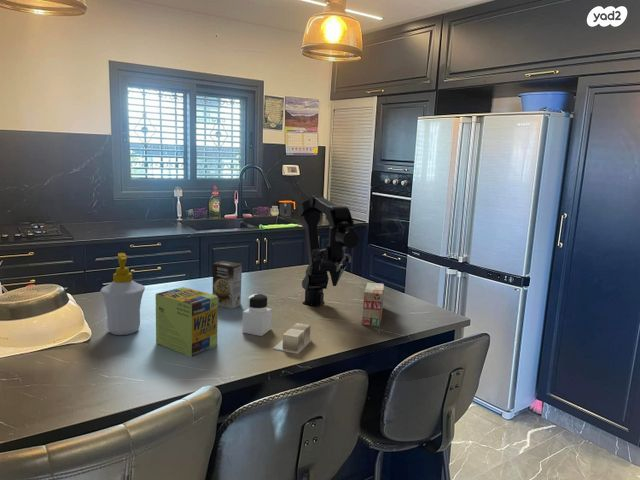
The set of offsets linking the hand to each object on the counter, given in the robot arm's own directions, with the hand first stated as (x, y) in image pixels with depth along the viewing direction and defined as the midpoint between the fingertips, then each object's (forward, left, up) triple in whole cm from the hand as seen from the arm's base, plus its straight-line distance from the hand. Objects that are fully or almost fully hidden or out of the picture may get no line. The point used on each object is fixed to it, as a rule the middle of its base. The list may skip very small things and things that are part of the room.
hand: (334, 285), depth 167 cm
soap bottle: (-47, -51, -12) cm, 70 cm away
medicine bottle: (-14, -26, -12) cm, 32 cm away
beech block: (+1, -22, -10) cm, 24 cm away
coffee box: (-39, -12, -12) cm, 43 cm away
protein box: (-24, -47, -12) cm, 54 cm away
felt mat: (+1, -28, -12) cm, 31 cm away
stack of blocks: (+11, +11, -12) cm, 20 cm away
